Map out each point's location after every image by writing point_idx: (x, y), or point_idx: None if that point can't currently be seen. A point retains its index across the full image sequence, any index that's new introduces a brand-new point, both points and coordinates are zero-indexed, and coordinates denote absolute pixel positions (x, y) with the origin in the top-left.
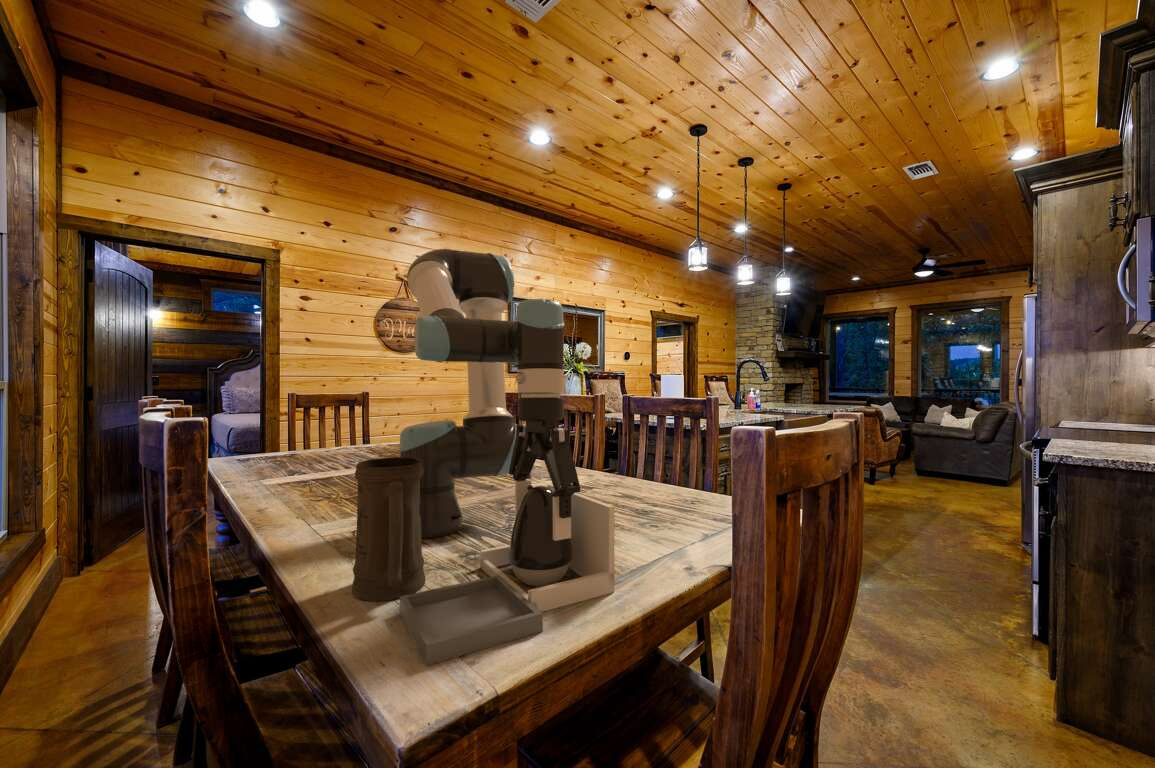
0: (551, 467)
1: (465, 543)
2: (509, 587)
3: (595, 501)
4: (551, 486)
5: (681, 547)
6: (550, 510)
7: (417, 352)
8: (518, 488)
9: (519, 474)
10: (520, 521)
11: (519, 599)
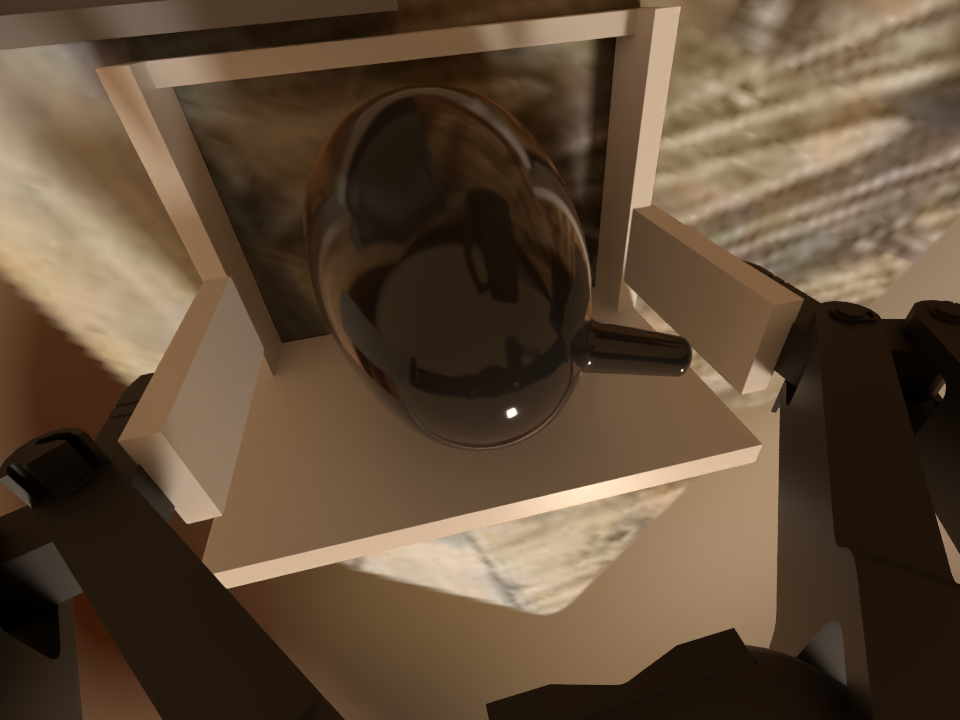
0: (130, 665)
1: (904, 30)
2: (239, 7)
3: (334, 551)
4: (720, 451)
5: (477, 542)
6: (350, 358)
7: None
8: (737, 292)
9: (812, 355)
10: (417, 173)
11: (96, 7)
